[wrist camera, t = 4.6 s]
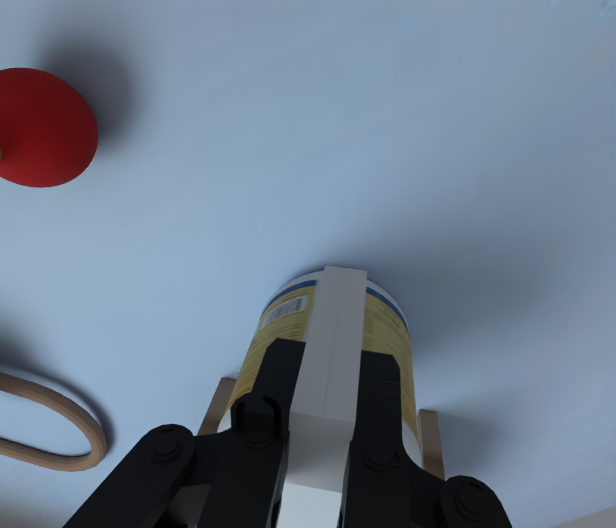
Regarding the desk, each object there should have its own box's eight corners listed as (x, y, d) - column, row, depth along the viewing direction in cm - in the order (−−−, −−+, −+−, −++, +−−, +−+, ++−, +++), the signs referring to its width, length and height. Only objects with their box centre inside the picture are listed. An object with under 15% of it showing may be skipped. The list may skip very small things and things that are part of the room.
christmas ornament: (118, 78, 28) (6, 110, 20) (118, 178, 32) (23, 241, 24) (13, 47, 28) (-143, 67, 20) (25, 151, 32) (-103, 205, 24)
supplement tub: (272, 377, 40) (211, 584, 26) (253, 263, 34) (160, 452, 20) (407, 384, 38) (422, 612, 24) (413, 264, 32) (437, 474, 18)
